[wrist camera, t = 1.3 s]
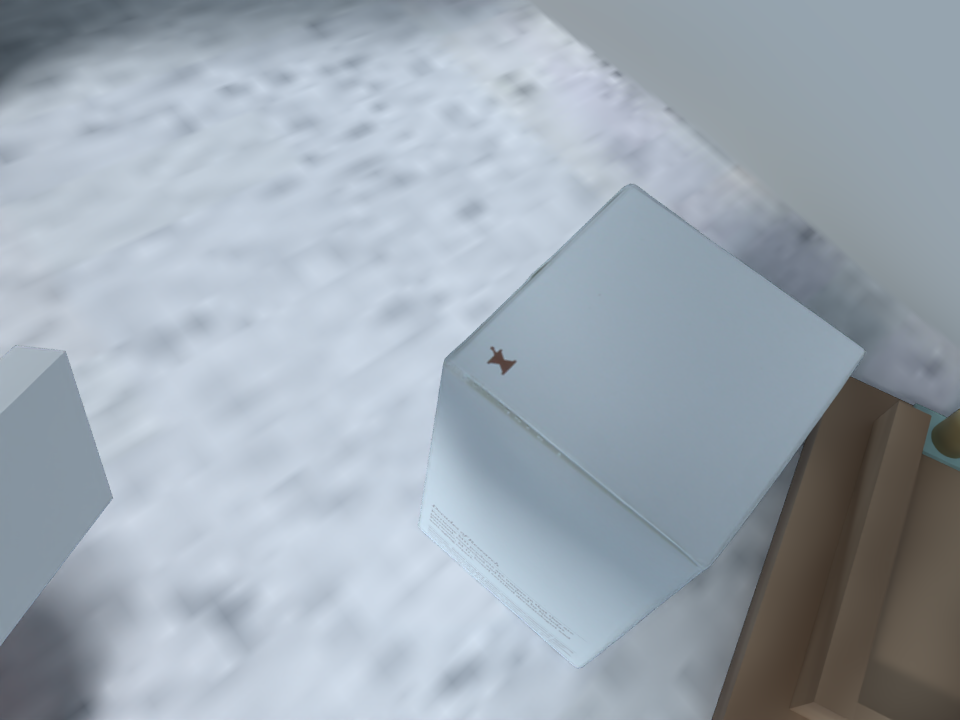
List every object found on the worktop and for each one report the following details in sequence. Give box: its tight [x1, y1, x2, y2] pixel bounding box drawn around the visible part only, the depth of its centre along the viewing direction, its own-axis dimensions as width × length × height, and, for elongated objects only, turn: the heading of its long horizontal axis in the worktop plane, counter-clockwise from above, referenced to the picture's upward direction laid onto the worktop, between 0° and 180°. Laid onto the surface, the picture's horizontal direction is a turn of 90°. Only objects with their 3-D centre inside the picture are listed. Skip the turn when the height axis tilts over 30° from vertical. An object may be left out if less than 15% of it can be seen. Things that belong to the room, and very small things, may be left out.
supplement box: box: [418, 184, 865, 668], centre depth 26 cm, size 7×7×13 cm
